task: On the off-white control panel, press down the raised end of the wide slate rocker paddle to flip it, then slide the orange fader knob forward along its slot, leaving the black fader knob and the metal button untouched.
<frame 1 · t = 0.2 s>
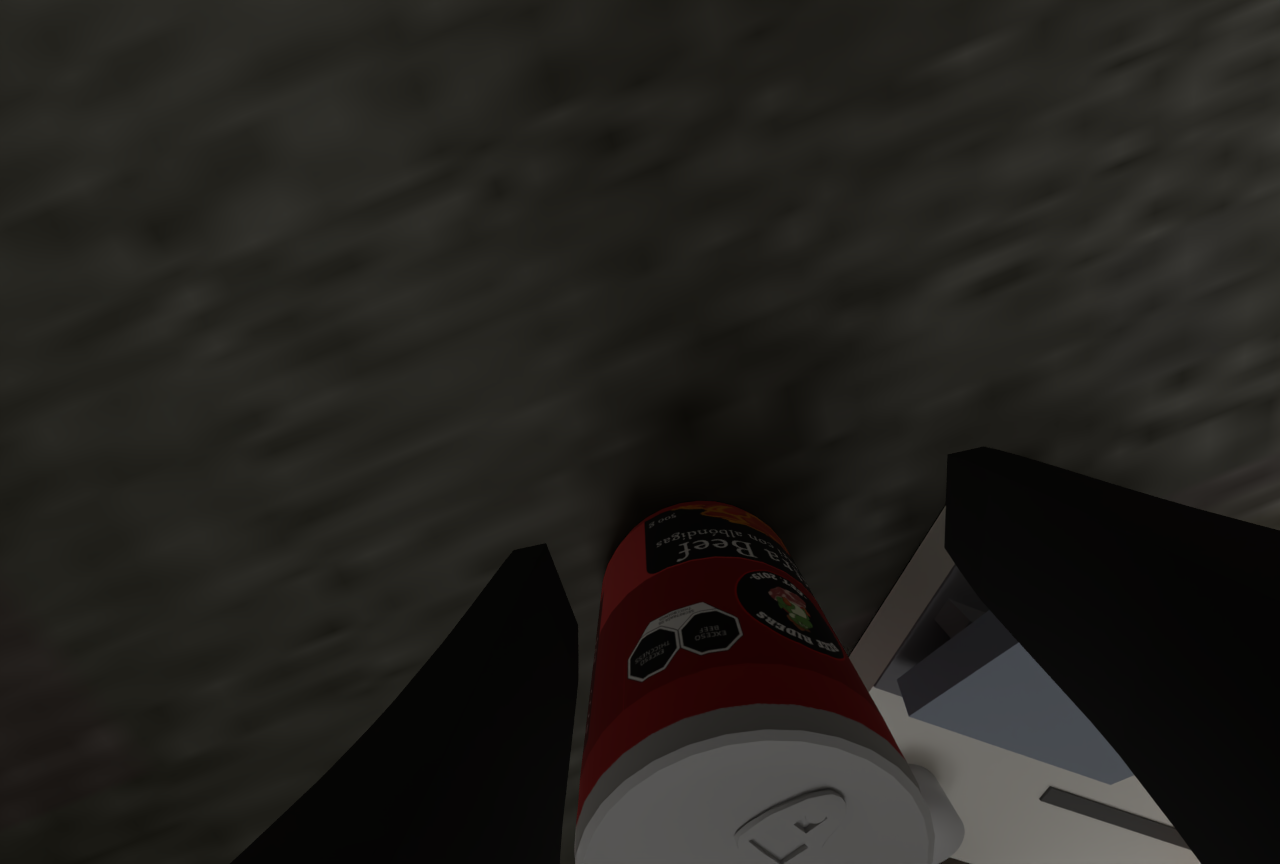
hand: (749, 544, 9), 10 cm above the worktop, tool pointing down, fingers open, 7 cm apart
rocker: (1081, 691, 17), point 5 cm above the worktop, hinge at -18.0°
canned food: (694, 576, 21), on the worktop
panel: (1084, 717, 24), on the worktop
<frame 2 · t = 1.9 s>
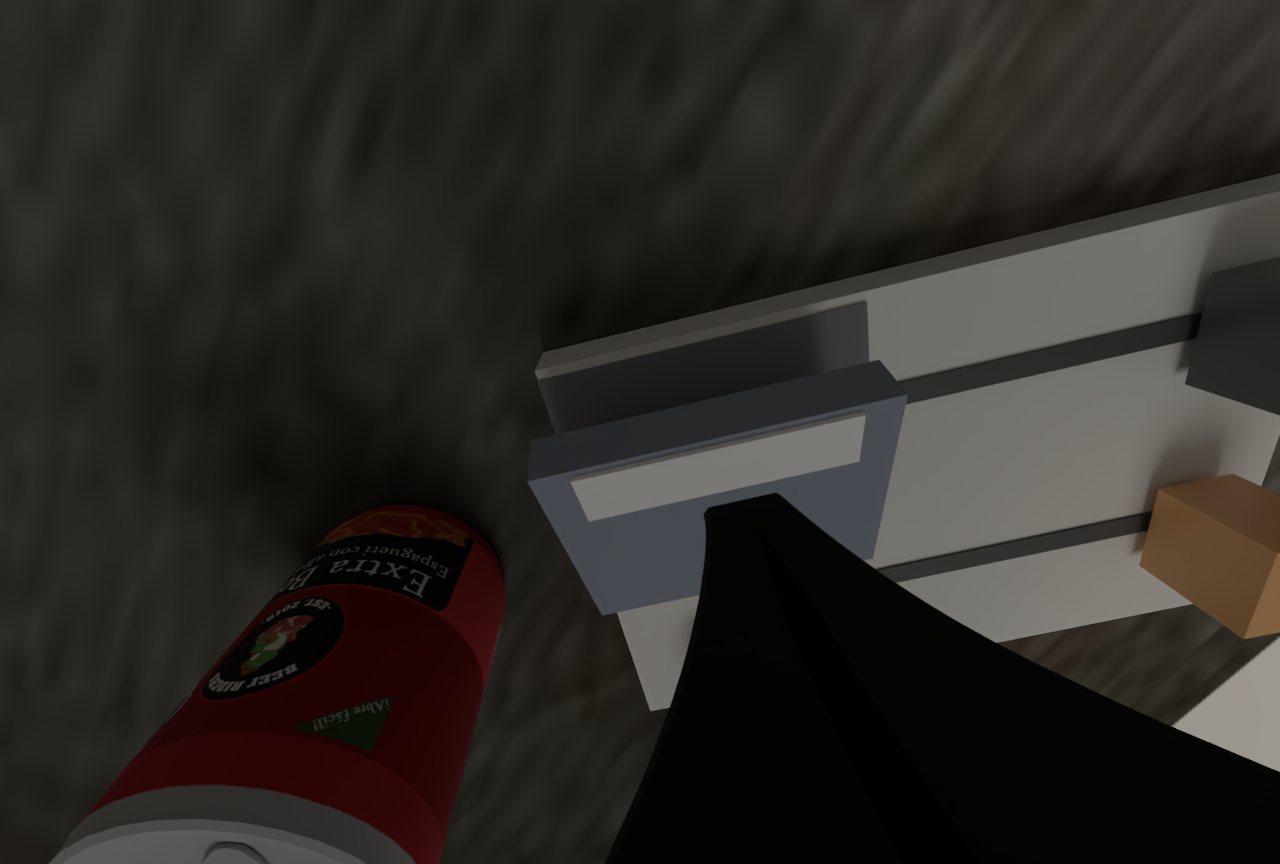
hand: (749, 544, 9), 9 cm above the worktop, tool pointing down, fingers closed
orange fader knob: (1239, 553, 17), point 4 cm above the worktop, slide at 0.0 cm
rocker: (721, 508, 14), point 5 cm above the worktop, hinge at -18.0°
canned food: (419, 575, 21), on the worktop
panel: (900, 473, 20), on the worktop
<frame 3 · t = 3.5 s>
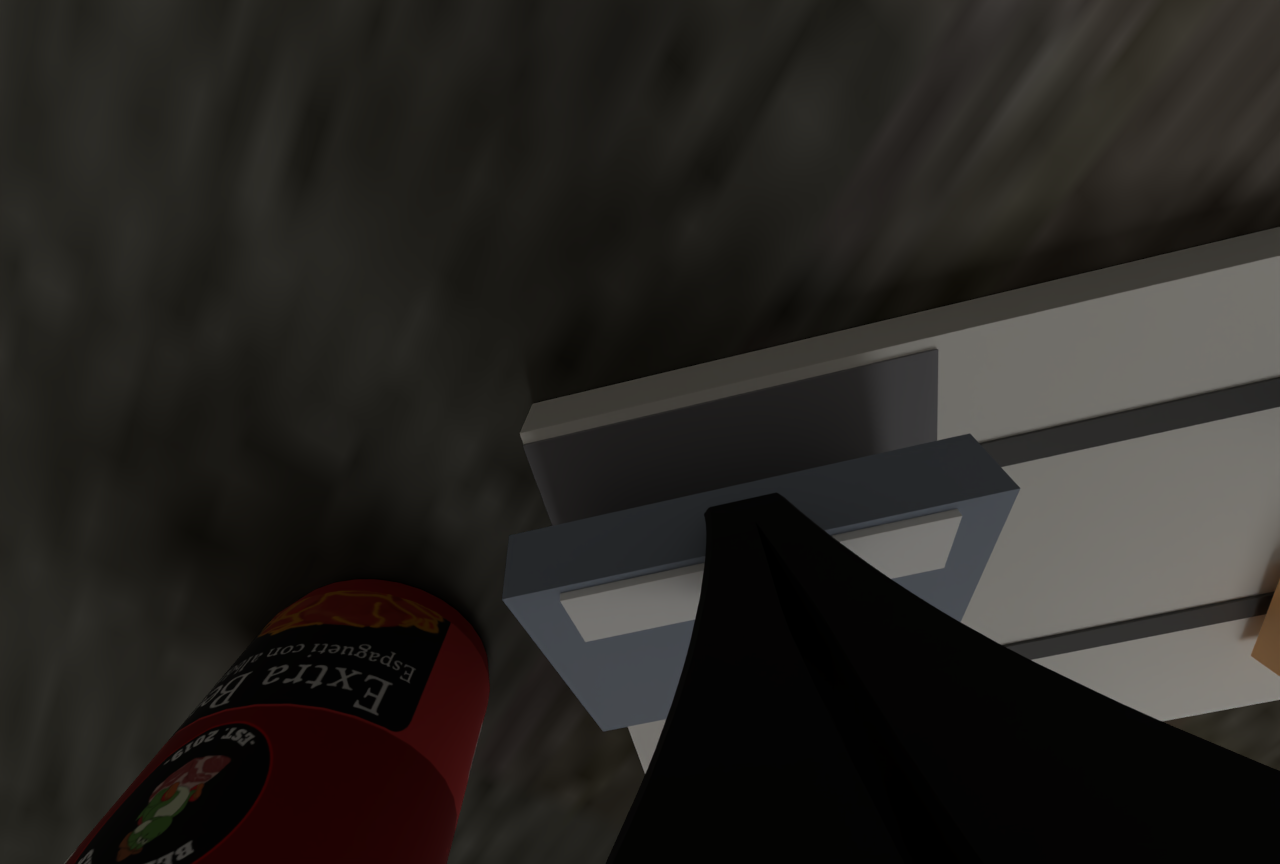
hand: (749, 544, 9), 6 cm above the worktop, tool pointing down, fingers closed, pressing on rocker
rocker: (754, 611, 11), point 5 cm above the worktop, hinge at -17.1°, touching gripper
canned food: (388, 656, 18), on the worktop
panel: (959, 541, 17), on the worktop
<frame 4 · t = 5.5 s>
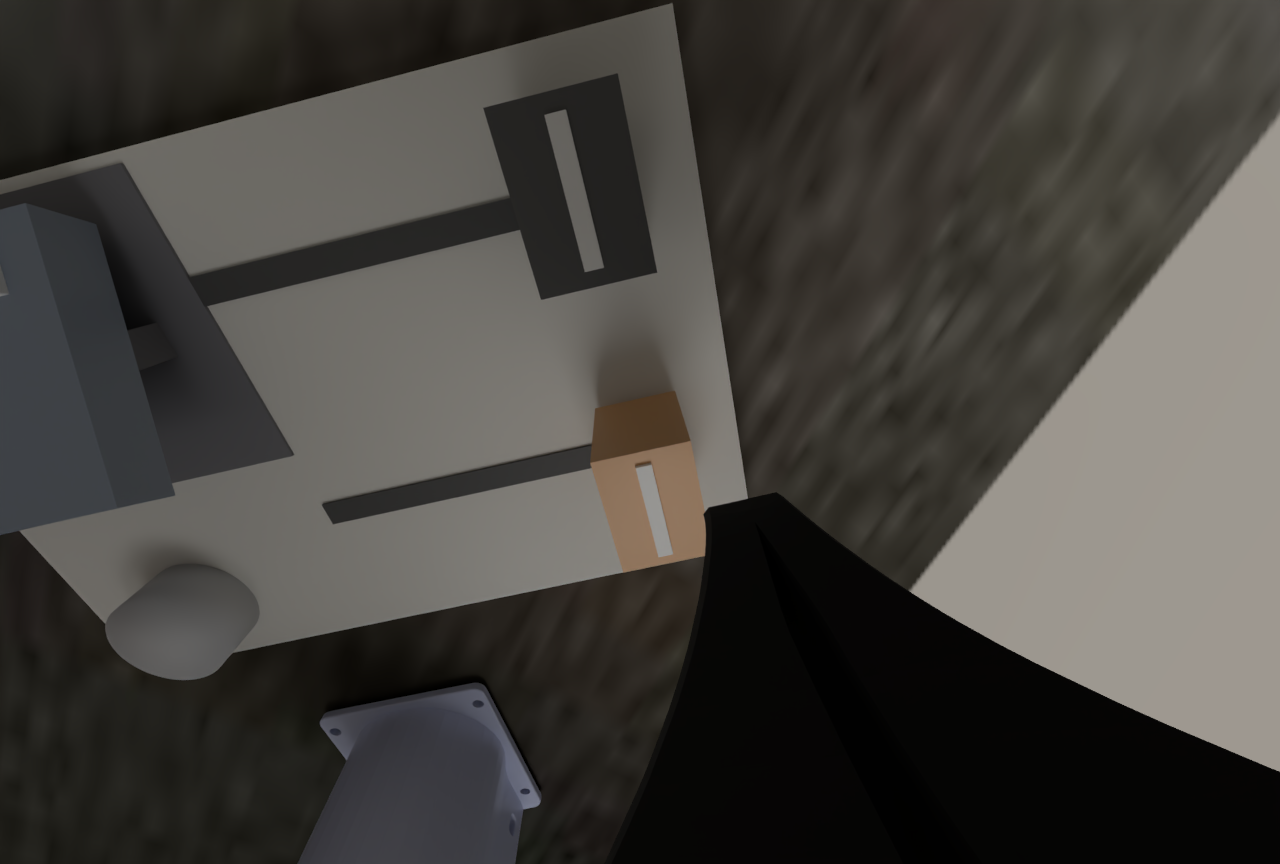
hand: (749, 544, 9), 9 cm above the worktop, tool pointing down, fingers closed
orange fader knob: (650, 477, 14), point 4 cm above the worktop, slide at 0.0 cm
black fader knob: (581, 196, 11), point 4 cm above the worktop, slide at 0.0 cm
panel: (371, 398, 17), on the worktop
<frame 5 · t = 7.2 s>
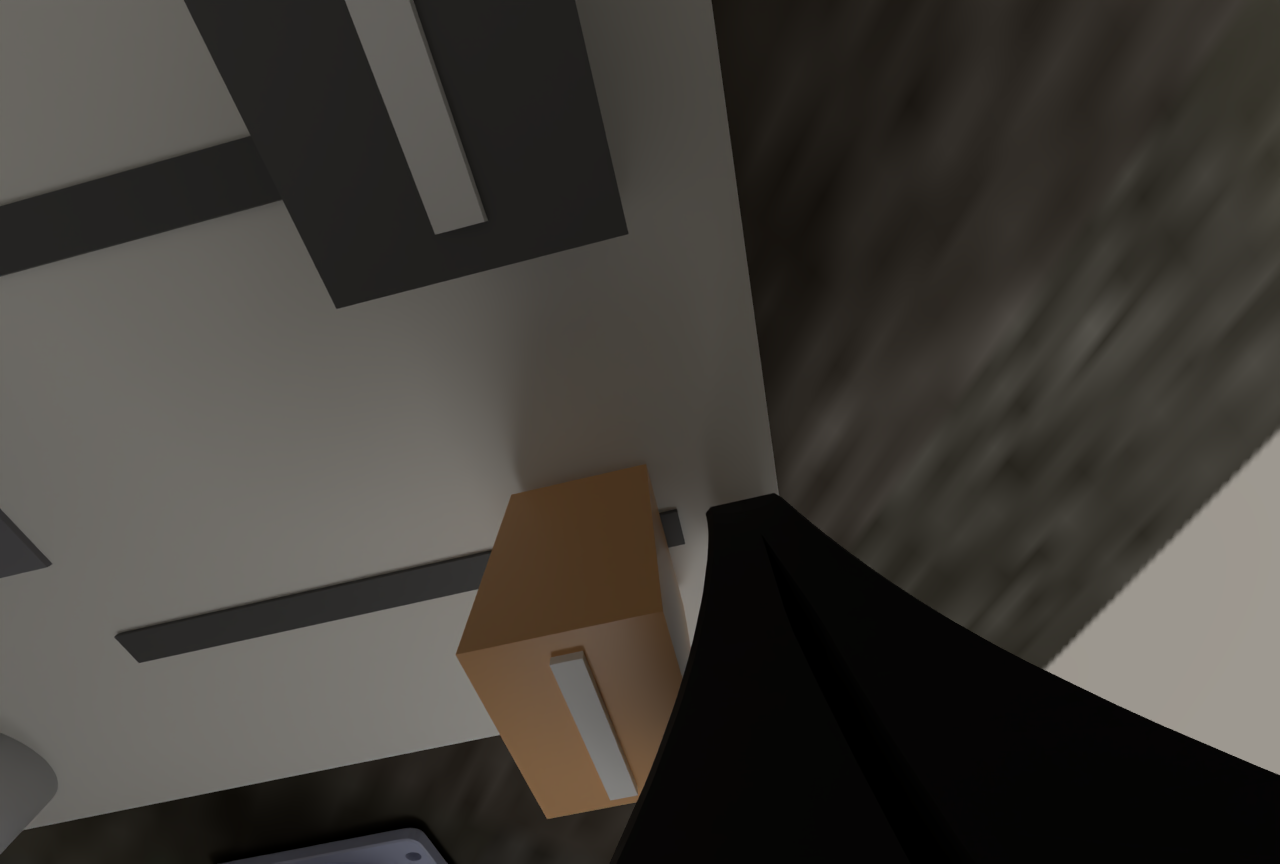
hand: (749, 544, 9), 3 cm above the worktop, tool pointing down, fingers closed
orange fader knob: (601, 627, 8), point 4 cm above the worktop, slide at 0.6 cm, touching gripper
black fader knob: (456, 66, 5), point 4 cm above the worktop, slide at 0.0 cm
panel: (202, 460, 11), on the worktop
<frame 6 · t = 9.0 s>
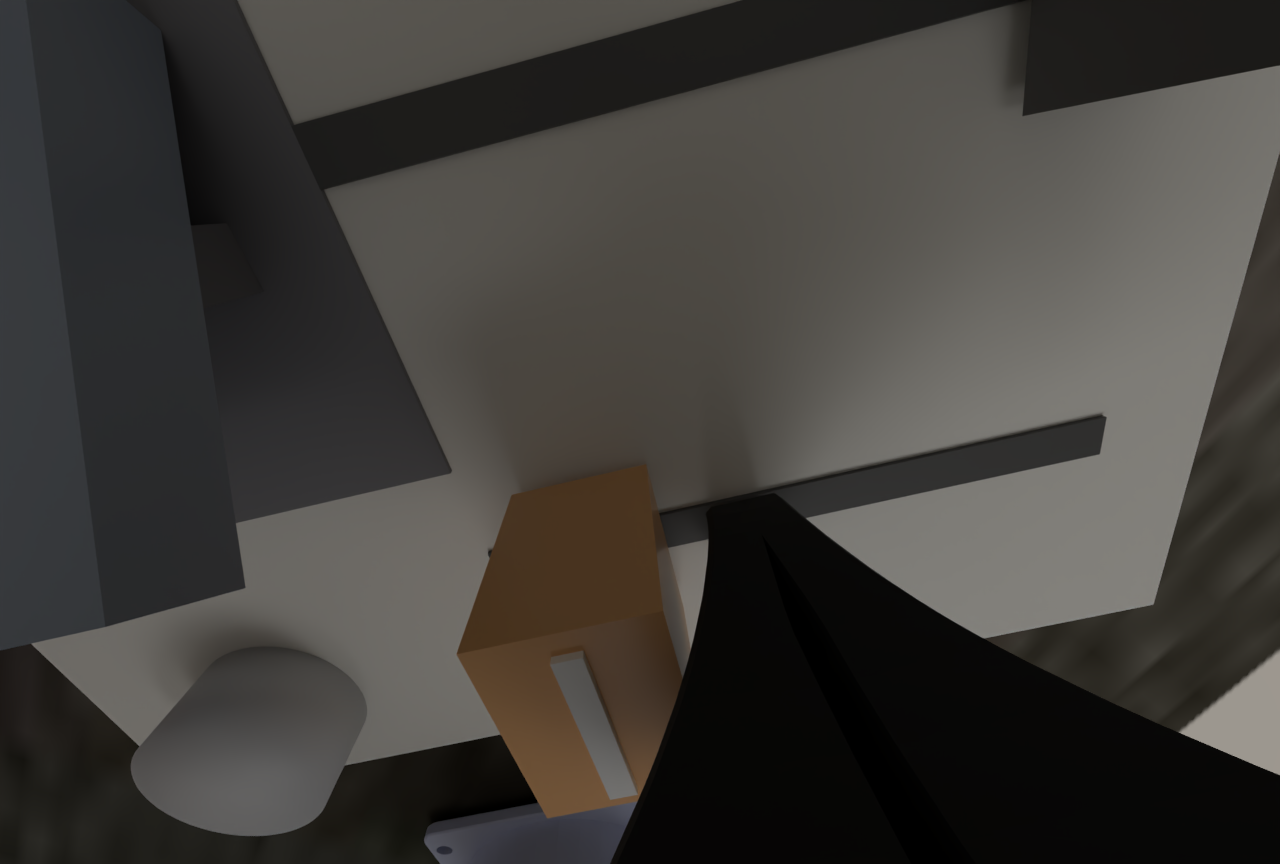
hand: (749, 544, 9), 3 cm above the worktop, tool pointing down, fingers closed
orange fader knob: (601, 627, 8), point 4 cm above the worktop, slide at 8.7 cm, touching gripper
panel: (556, 375, 11), on the worktop
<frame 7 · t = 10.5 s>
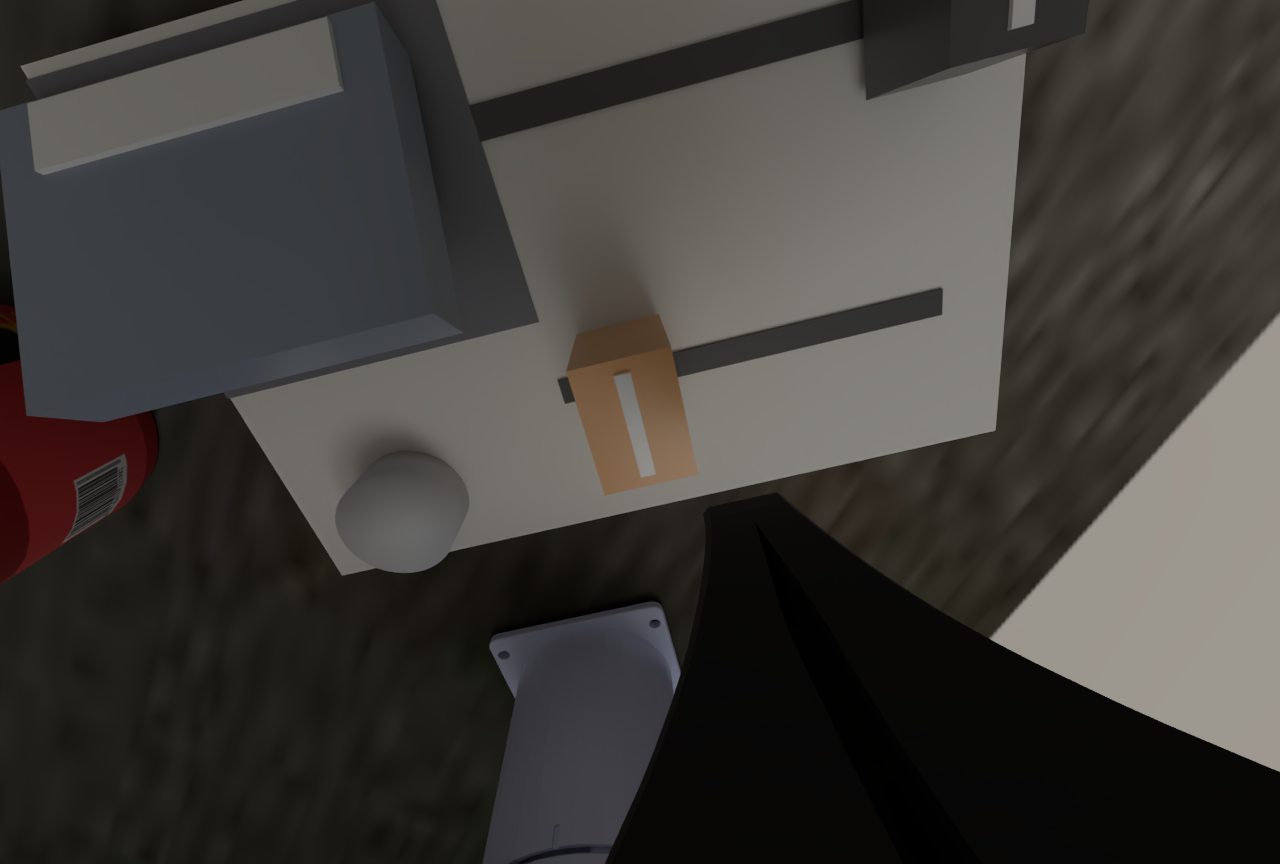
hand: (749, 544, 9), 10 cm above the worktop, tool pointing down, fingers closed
orange fader knob: (633, 400, 14), point 4 cm above the worktop, slide at 8.7 cm
rocker: (228, 221, 11), point 5 cm above the worktop, hinge at 30.5°, touching panel
canned food: (53, 408, 18), on the worktop
panel: (599, 272, 16), on the worktop
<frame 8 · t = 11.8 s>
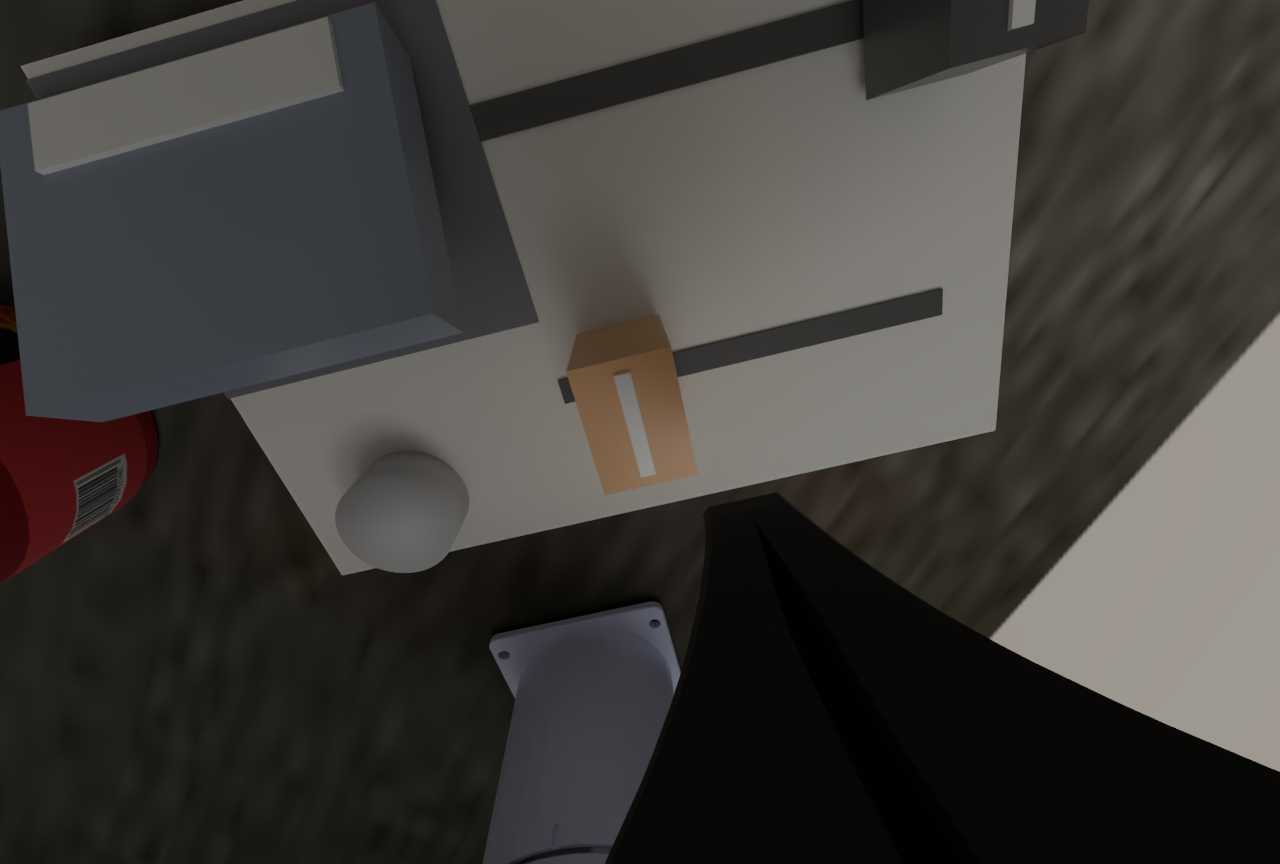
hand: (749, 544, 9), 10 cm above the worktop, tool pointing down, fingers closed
orange fader knob: (633, 400, 14), point 4 cm above the worktop, slide at 8.7 cm
rocker: (228, 221, 11), point 5 cm above the worktop, hinge at 30.6°, touching panel
canned food: (53, 408, 18), on the worktop
panel: (599, 272, 16), on the worktop
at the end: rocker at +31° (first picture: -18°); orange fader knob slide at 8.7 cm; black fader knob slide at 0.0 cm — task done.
